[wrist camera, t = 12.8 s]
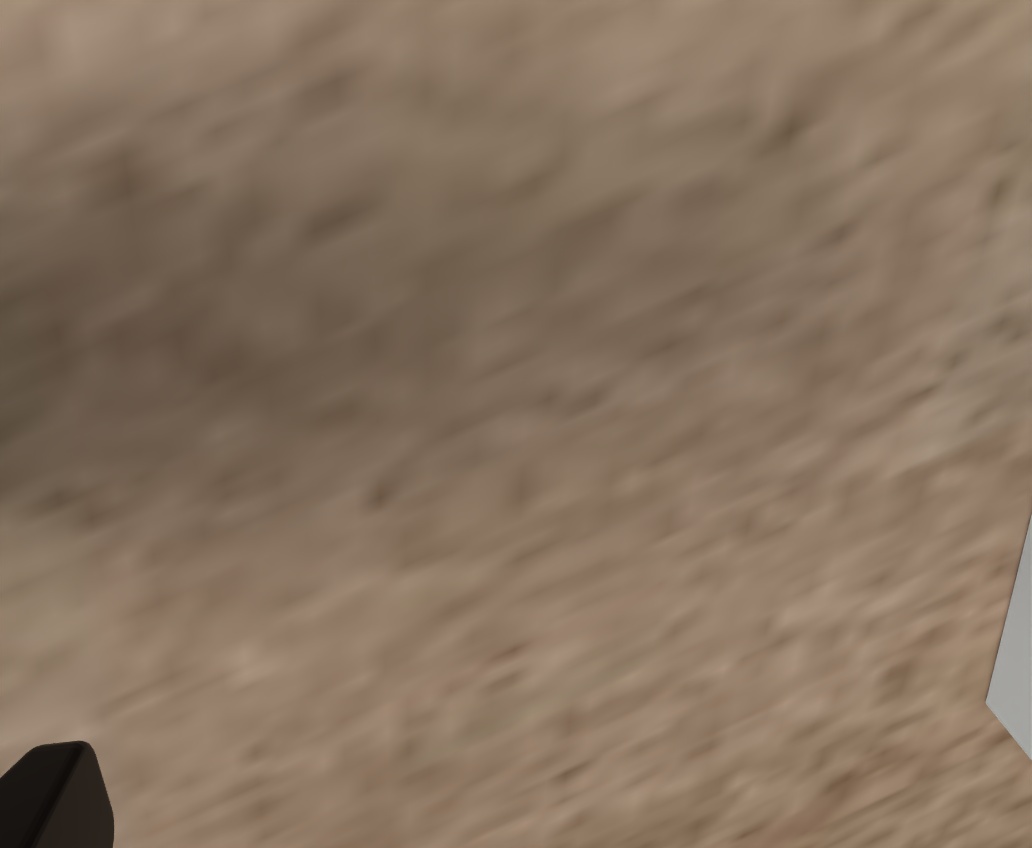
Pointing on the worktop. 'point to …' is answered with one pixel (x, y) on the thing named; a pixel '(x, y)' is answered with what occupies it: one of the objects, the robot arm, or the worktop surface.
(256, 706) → the worktop surface
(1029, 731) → the rack
